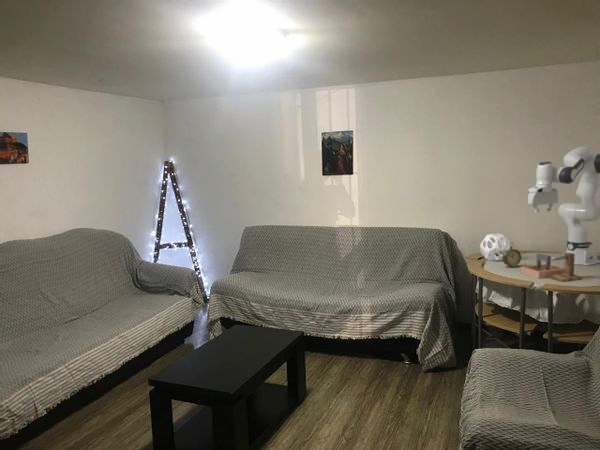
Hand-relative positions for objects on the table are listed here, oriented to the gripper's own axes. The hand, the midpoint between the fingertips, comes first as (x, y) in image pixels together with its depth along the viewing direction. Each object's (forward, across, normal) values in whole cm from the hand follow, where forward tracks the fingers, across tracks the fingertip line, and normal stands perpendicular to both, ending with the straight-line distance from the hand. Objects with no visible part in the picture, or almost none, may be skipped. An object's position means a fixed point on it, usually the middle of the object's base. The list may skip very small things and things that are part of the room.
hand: (542, 211), depth 290 cm
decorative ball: (+37, +2, -38) cm, 53 cm away
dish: (+37, +4, +6) cm, 38 cm away
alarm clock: (+37, +8, -16) cm, 41 cm away
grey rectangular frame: (+36, +4, +6) cm, 37 cm away
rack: (+37, +2, +19) cm, 42 cm away
